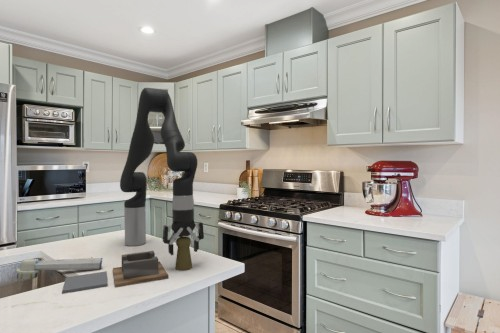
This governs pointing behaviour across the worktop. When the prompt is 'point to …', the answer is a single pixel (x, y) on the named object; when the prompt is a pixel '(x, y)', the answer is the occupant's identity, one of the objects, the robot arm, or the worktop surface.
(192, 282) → the worktop surface
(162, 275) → the collar block
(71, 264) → the toothbrush head
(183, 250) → the olive pawn
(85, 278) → the mat
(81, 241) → the worktop surface
